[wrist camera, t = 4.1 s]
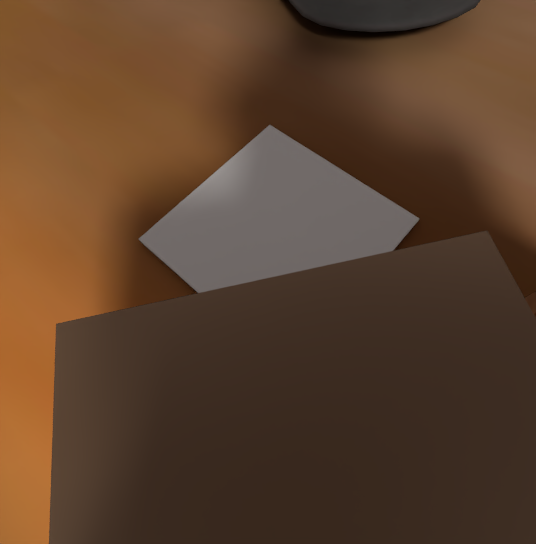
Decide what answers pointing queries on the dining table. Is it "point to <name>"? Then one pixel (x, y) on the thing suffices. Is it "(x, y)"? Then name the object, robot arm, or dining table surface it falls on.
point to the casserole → (381, 13)
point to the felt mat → (274, 218)
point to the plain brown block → (305, 409)
